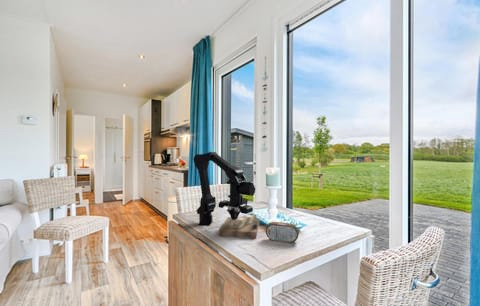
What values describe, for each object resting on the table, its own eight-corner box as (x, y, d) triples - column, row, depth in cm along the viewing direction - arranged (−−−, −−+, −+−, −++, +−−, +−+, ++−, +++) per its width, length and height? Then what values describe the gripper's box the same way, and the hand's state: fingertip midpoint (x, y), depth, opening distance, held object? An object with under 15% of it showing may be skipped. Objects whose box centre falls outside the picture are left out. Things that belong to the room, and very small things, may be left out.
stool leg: (238, 228, 115) (238, 220, 115) (232, 227, 118) (232, 219, 118) (256, 221, 128) (256, 213, 127) (251, 219, 130) (251, 212, 130)
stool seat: (218, 236, 114) (218, 226, 114) (228, 222, 136) (228, 213, 136) (256, 238, 111) (256, 228, 111) (259, 223, 133) (259, 215, 133)
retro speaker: (298, 241, 108) (298, 223, 108) (298, 244, 105) (298, 225, 105) (266, 238, 112) (266, 220, 112) (265, 240, 109) (265, 222, 109)
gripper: (259, 193, 121) (258, 223, 122) (231, 188, 133) (231, 215, 133) (246, 197, 112) (245, 229, 113) (217, 191, 124) (217, 220, 125)
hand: (234, 223), depth 121 cm, fingers closed
